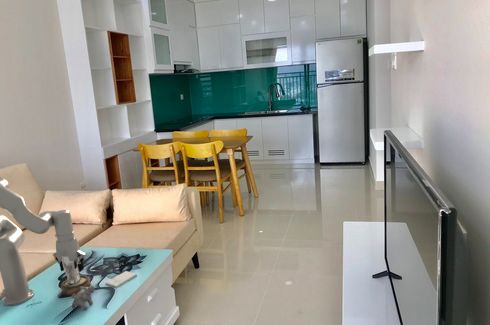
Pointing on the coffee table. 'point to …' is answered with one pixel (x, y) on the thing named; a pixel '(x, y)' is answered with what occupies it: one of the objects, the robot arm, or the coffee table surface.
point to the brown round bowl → (75, 286)
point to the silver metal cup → (71, 271)
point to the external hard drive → (121, 279)
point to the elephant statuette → (83, 297)
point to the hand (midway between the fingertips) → (72, 270)
